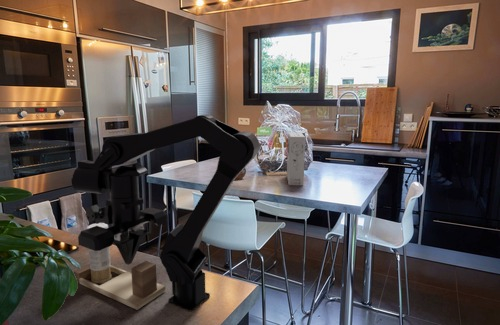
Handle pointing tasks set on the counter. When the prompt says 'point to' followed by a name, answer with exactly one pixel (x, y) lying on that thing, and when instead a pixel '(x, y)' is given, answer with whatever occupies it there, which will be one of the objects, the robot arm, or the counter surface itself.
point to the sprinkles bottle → (100, 261)
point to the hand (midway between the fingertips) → (128, 263)
